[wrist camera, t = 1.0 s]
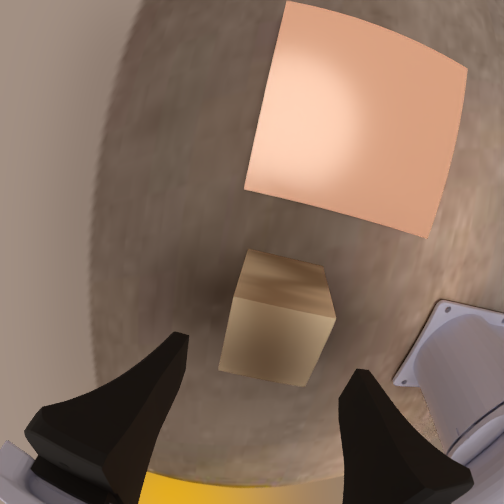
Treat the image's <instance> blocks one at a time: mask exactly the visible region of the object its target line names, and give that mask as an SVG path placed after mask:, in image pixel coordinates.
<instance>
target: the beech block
mask: <svg viewBox="0 0 504 504" xmlns="http://www.w3.org/2000/svg"><path fill="white" fill-rule="evenodd" d="M335 321H336V315H335V311H334V307H333V303H332V299H331V295H330V291H329V288H328V284H327V280H326V276H325V272H324V269H323V266H320V265H316V264H312V263H308V262H303V261H299V260H295V259H290V258H286V257H282V256H278V255H273V254H269V253H265V252H261V251H256V250H252V249H248V251H247V254H246V257H245V261H244V264H243V267H242V270H241V274H240V277H239V280H238V283H237V287H236V290H235V293H234V297H233V301H232V306H231V311H230V316H229V320H228V325H227V330H226V335H225V339H224V344H223V349H222V354H221V359H220V364H219V368H218V370H221V371H225V372H229V373H234V374H238V375H242V376H247V377H252V378H257V379H262V380H267V381H272V382H277V383H283V384H288V385H294V386H301V387H305V386H306V384H307V382H308V380H309V377H310V375H311V373H312V371H313V369H314V367H315V365H316V363H317V361H318V359H319V357H320V354H321V352H322V350H323V348H324V346H325V343H326V341H327V339H328V337H329V335H330V332H331V330H332V328H333V325H334V323H335Z"/></svg>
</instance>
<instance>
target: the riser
mask: <svg viewBox="0 0 504 504" xmlns="http://www.w3.org/2000/svg"><path fill="white" fill-rule="evenodd" d="M466 78H467V68H466V67H464V66H462V65H461V64H459V63H457V62H455V61H454V60H452V59H450V58H448V57H446V56H445V55H443V54H441V53H439V52H437V51H435V50H433V49H431V48H429V47H427V46H425V45H423V44H421V43H419V42H416V41H414V40H412V39H410V38H408V37H405V36H403V35H401V34H398V33H396V32H393V31H391V30H388V29H386V28H383V27H381V26H378V25H375V24H372V23H369V22H367V21H364V20H361V19H358V18H355V17H351V16H348V15H345V14H341V13H338V12H334V11H331V10H327V9H323V8H319V7H315V6H310V5H306V4H301V3H296V2H291V1H287V2H286V6H285V10H284V14H283V18H282V23H281V27H280V31H279V35H278V39H277V43H276V47H275V52H274V56H273V60H272V64H271V69H270V73H269V77H268V82H267V86H266V90H265V95H264V99H263V103H262V108H261V112H260V117H259V121H258V126H257V130H256V135H255V140H254V144H253V149H252V153H251V158H250V163H249V167H248V172H247V177H246V182H245V186H244V189H245V190H249V191H254V192H258V193H263V194H267V195H271V196H276V197H280V198H284V199H288V200H292V201H296V202H300V203H304V204H308V205H312V206H316V207H320V208H324V209H328V210H331V211H335V212H339V213H342V214H346V215H350V216H353V217H357V218H360V219H364V220H367V221H371V222H374V223H378V224H381V225H385V226H388V227H391V228H395V229H398V230H401V231H404V232H408V233H411V234H414V235H417V236H420V237H423V238H426V239H427V238H428V236H429V233H430V230H431V227H432V224H433V221H434V218H435V215H436V212H437V209H438V206H439V203H440V200H441V197H442V193H443V190H444V186H445V183H446V179H447V176H448V172H449V168H450V164H451V160H452V156H453V152H454V148H455V143H456V139H457V134H458V129H459V124H460V118H461V113H462V107H463V100H464V94H465V86H466Z"/></svg>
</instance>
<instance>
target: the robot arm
mask: <svg viewBox="0 0 504 504" xmlns="http://www.w3.org/2000/svg"><path fill="white" fill-rule="evenodd" d="M447 307H448V308H447ZM446 308H447V309H446ZM445 309H446V310H445ZM188 342H189V335H186V334H182V333H179V332H173V333H172V334H171V335H170V336H169V337H168V338H167V339H166V340H165V341H164V342H163V343H162V344H161V345H159V346H158V347H157V348H156V349H155V350H154V351H153V352H152V353H150V354H149V355H148V356H147V357H146V358H144V359H143V360H142V361H141V362H139V363H138V364H137V365H135V366H134V367H132V368H131V369H130V370H128V371H127V372H125V373H124V374H122V375H121V376H119V377H118V378H116V379H114V380H113V381H111V382H109V383H107V384H105V385H103V386H101V387H99V388H97V389H95V390H93V391H91V392H89V393H86V394H84V395H81V396H78V397H76V398H73V399H70V400H67V401H64V402H60V403H56V404H52V405H48V406H44V407H42V408H41V409H40V410H39V411H38V412H37V413H36V414H35V416H34V417H33V419H32V420H31V421H30V423H29V424H28V426H27V427H26V429H25V430H24V433H25V437H26V438H27V440H28V442H29V443H30V444H31V446H32V447H33V448H34V450H35V451H36V452H37V454H38V457H37V458H36V460H34V459H33V458H32V457H31V456H30V455H28V454H27V453H25V452H24V451H23V450H21V449H20V448H18V447H17V446H15V445H14V444H13V443H11V442H10V441H7V440H6V441H5V443H4V445H3V446H2V448H1V449H0V499H1V500H2V501H3V502H4V503H6V504H138V501H139V498H140V494H141V490H142V486H143V482H144V479H145V475H146V472H147V468H148V465H149V462H150V458H151V455H152V452H153V449H154V446H155V443H156V440H157V437H158V434H159V432H160V429H161V427H162V425H163V423H164V421H165V418H166V416H167V414H168V412H169V410H170V408H171V406H172V403H173V401H174V399H175V397H176V395H177V393H178V390H179V388H180V385H181V382H182V379H183V376H184V373H185V369H186V360H187V351H188ZM393 384H394V385H396V386H409V387H420V388H421V391H422V393H423V396H424V398H425V401H426V403H427V406H428V409H429V411H430V414H431V416H432V419H433V422H434V425H435V427H436V430H437V433H438V436H439V439H440V441H441V444H442V447H443V450H444V454H443V453H442V452H441V451H440V450H438V449H437V448H435V447H434V446H433V445H432V444H431V443H430V442H428V441H427V440H426V439H425V438H424V437H423V436H422V435H421V434H420V433H419V432H418V431H417V430H416V429H415V428H414V427H413V426H412V425H411V424H410V423H409V422H408V421H407V420H406V418H405V417H404V416H403V415H402V414H401V413H400V411H399V410H398V409H397V408H396V406H395V405H394V404H393V402H392V401H391V400H390V398H389V397H388V396H387V394H386V393H385V391H384V390H383V389H382V387H381V386H380V384H379V383H378V382H377V380H376V379H375V378H374V376H373V375H372V374H371V372H370V371H369V370H364V369H356V370H355V372H354V374H353V375H352V377H351V379H350V380H349V382H348V384H347V385H346V387H345V389H344V390H343V392H342V394H341V395H340V397H339V408H338V411H339V425H340V433H341V441H342V448H343V456H344V492H343V503H342V504H504V313H500V312H495V311H491V310H486V309H482V308H478V307H473V306H469V305H464V304H460V303H455V302H451V301H447V300H441V301H439V302H438V303H437V304H436V306H435V308H434V310H433V312H432V314H431V316H430V317H429V319H428V321H427V323H426V325H425V327H424V329H423V330H422V332H421V334H420V336H419V338H418V339H417V341H416V343H415V344H414V346H413V348H412V350H411V351H410V353H409V355H408V356H407V358H406V359H405V361H404V363H403V364H402V366H401V367H400V369H399V370H398V372H397V374H396V375H395V377H394V378H393Z"/></svg>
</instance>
